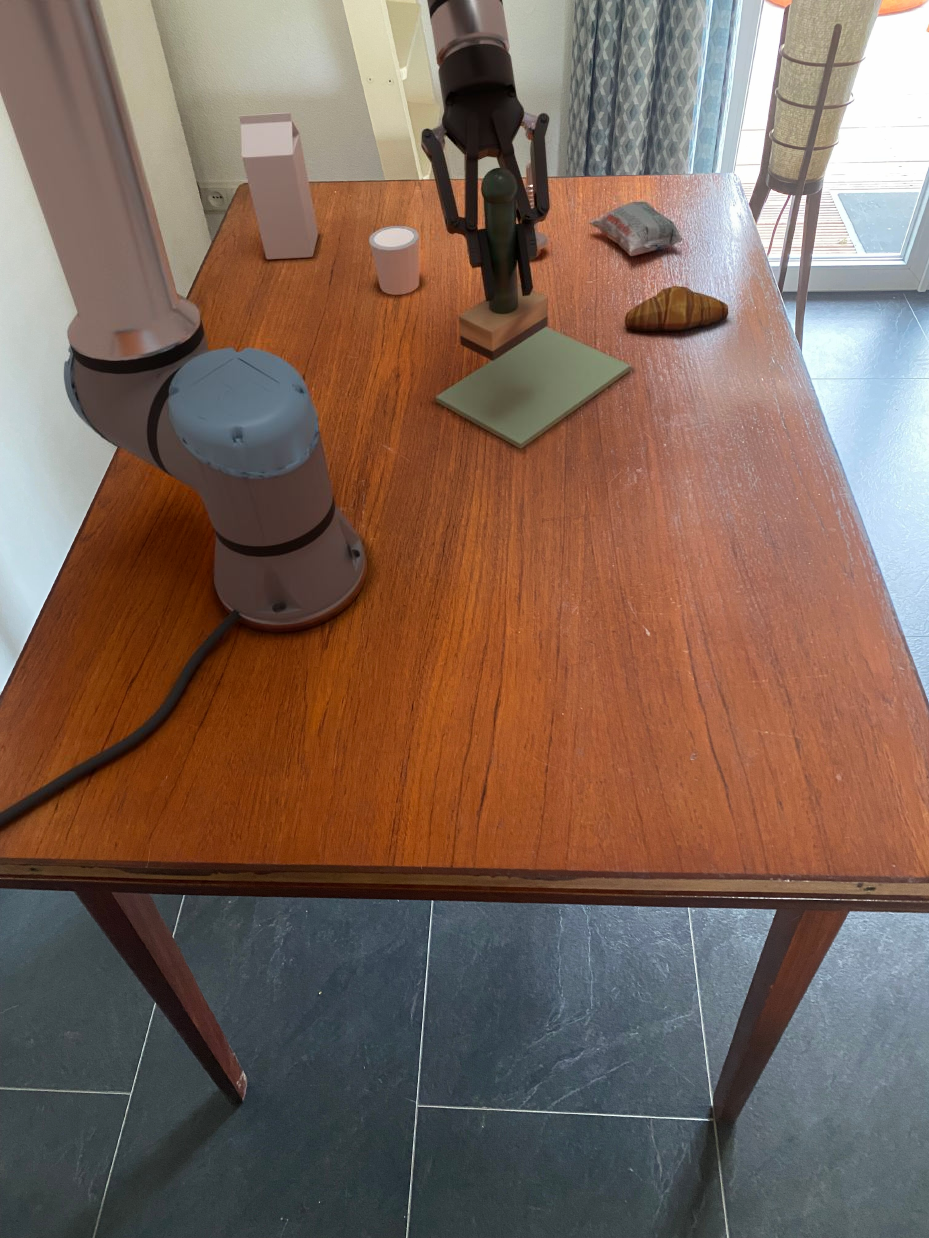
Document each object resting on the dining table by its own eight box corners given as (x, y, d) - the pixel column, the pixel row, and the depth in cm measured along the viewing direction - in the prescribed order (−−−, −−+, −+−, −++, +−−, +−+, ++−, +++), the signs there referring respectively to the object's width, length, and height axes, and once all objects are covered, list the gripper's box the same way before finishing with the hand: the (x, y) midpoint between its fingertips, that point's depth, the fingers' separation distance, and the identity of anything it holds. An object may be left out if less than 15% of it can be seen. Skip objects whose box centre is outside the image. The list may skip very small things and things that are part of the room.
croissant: (719, 305, 120) (725, 269, 117) (733, 332, 116) (740, 297, 112) (618, 315, 120) (621, 280, 117) (629, 343, 116) (632, 308, 112)
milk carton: (313, 258, 136) (286, 123, 121) (266, 260, 136) (234, 126, 122) (318, 235, 140) (293, 102, 126) (273, 237, 141) (243, 105, 126)
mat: (520, 449, 103) (520, 444, 103) (435, 402, 110) (435, 396, 110) (630, 370, 112) (630, 365, 111) (544, 331, 119) (544, 325, 118)
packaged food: (629, 270, 128) (632, 236, 124) (588, 235, 135) (590, 201, 131) (682, 255, 130) (686, 221, 126) (639, 221, 137) (642, 188, 133)
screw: (553, 249, 133) (540, 264, 130) (522, 243, 134) (509, 259, 132) (554, 157, 123) (540, 172, 120) (521, 153, 125) (507, 167, 122)
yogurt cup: (432, 278, 130) (428, 231, 124) (405, 301, 126) (399, 253, 121) (394, 268, 132) (388, 221, 127) (366, 290, 129) (358, 242, 123)
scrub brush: (492, 361, 99) (485, 193, 85) (460, 345, 101) (447, 179, 87) (547, 325, 102) (548, 159, 89) (515, 310, 105) (511, 146, 91)
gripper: (546, 70, 96) (579, 294, 98) (394, 90, 95) (430, 315, 97) (558, 29, 89) (593, 272, 90) (394, 50, 88) (432, 295, 90)
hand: (509, 294), depth 94 cm, fingers closed on scrub brush, 3 cm apart
